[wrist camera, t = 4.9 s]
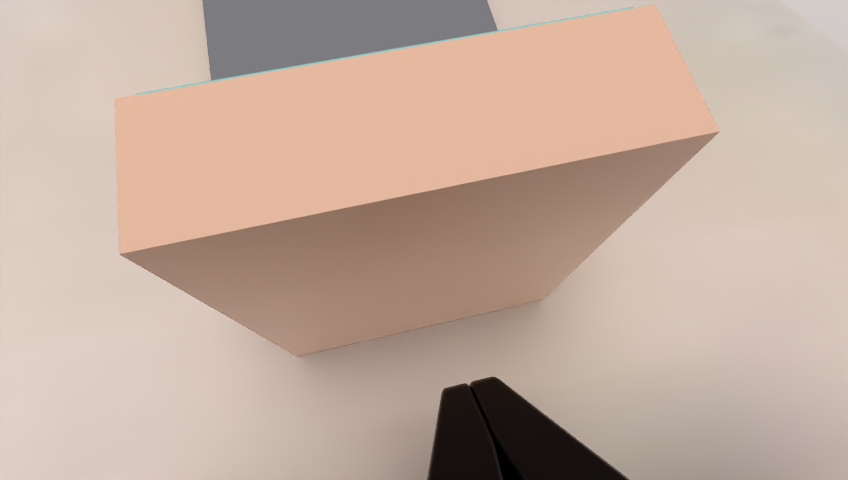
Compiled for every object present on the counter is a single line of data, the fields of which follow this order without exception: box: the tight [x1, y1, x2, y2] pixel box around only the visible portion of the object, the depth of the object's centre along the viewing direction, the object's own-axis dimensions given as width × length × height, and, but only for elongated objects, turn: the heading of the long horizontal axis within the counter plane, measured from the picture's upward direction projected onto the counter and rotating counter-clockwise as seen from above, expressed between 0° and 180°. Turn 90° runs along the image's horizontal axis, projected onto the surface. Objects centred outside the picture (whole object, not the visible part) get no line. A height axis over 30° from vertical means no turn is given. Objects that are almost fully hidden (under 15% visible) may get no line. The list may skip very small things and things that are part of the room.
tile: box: [115, 5, 720, 357], centre depth 12 cm, size 2×8×10 cm, turn 103°
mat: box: [203, 0, 498, 81], centre depth 19 cm, size 13×11×1 cm
